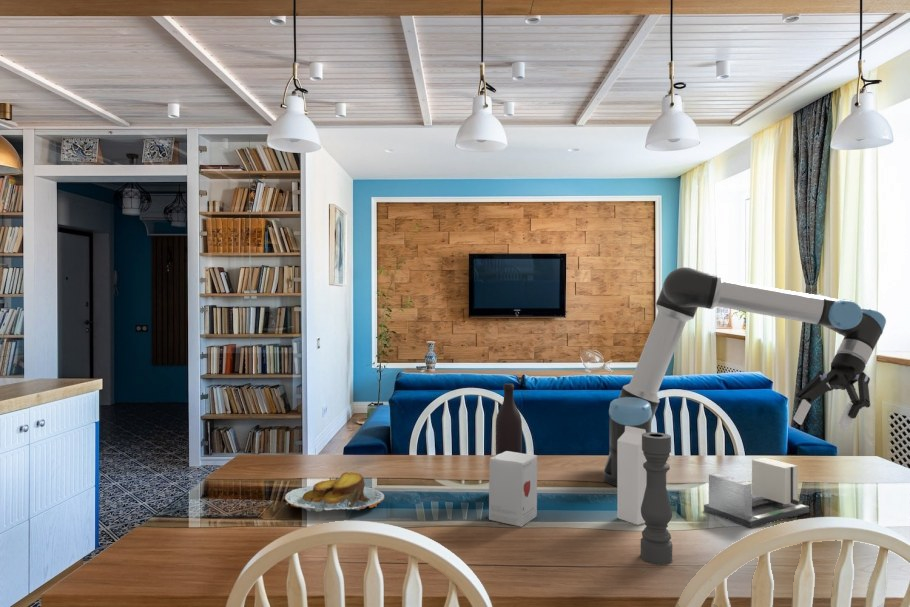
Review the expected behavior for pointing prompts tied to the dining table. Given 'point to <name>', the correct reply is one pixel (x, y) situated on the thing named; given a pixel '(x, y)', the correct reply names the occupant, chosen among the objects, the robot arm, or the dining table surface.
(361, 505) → the food on plate
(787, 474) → the block
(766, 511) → the frame
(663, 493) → the candle holder
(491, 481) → the supplement box
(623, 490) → the milk
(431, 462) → the dining table surface
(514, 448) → the wine bottle
